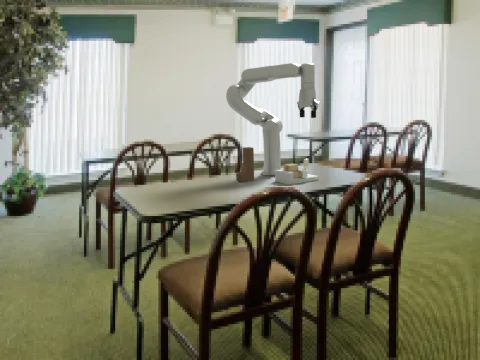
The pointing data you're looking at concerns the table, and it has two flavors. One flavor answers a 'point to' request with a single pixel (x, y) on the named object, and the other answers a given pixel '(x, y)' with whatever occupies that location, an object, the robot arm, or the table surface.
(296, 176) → the maple block
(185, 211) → the table surface
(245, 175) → the wooden block
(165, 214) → the table surface
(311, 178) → the vise base
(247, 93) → the robot arm
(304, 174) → the slide jaw
